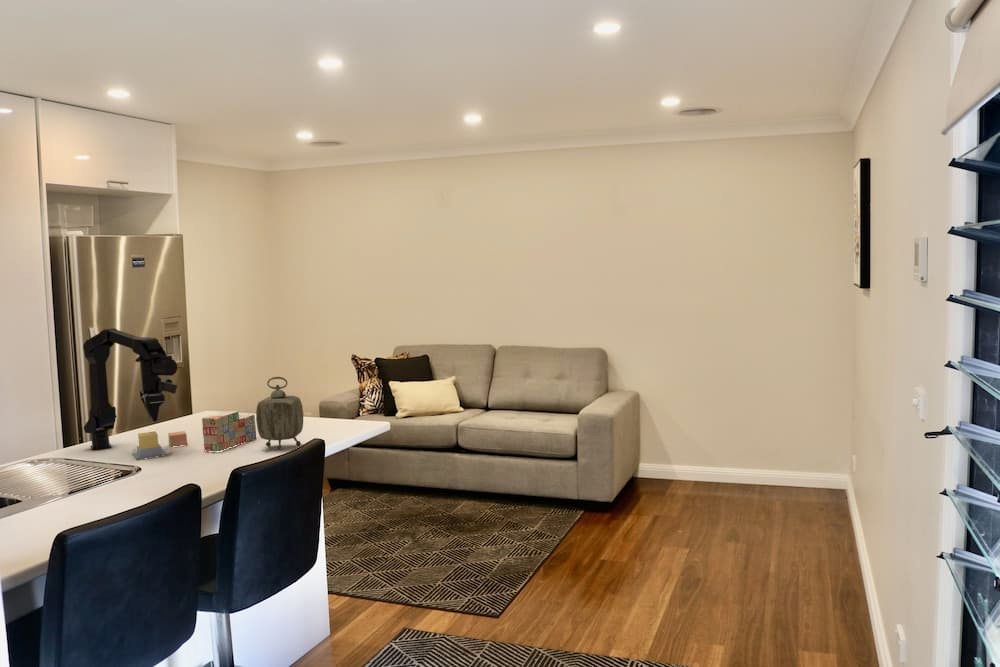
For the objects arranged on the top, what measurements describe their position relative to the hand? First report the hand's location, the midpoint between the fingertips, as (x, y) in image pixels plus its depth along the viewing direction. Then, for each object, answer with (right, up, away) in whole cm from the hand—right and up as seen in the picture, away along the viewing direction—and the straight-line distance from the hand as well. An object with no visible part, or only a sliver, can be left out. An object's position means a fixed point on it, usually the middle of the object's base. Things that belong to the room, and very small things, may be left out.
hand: (153, 419), depth 291 cm
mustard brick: (-1, -9, -2) cm, 9 cm away
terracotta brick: (+4, -11, +12) cm, 17 cm away
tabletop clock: (+44, -10, +1) cm, 45 cm away
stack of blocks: (+24, -11, +9) cm, 28 cm away
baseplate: (0, -12, -2) cm, 12 cm away
